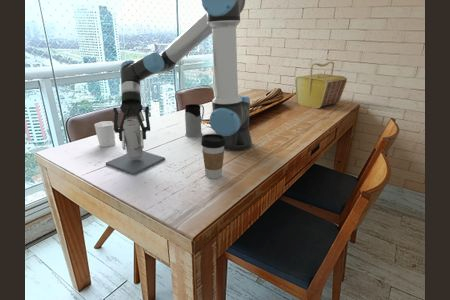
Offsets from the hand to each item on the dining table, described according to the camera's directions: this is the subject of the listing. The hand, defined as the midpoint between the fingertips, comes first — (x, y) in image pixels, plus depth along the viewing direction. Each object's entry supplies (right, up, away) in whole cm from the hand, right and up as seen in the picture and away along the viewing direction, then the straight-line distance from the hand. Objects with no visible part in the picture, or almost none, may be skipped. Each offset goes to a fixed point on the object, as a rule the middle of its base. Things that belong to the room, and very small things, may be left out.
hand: (133, 147), depth 102 cm
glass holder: (+20, +8, +39) cm, 44 cm away
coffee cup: (+30, -10, -3) cm, 32 cm away
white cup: (-20, +2, +24) cm, 31 cm away
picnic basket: (+104, +33, +101) cm, 148 cm away
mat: (-1, -6, +6) cm, 9 cm away
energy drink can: (-1, -4, +6) cm, 7 cm away
